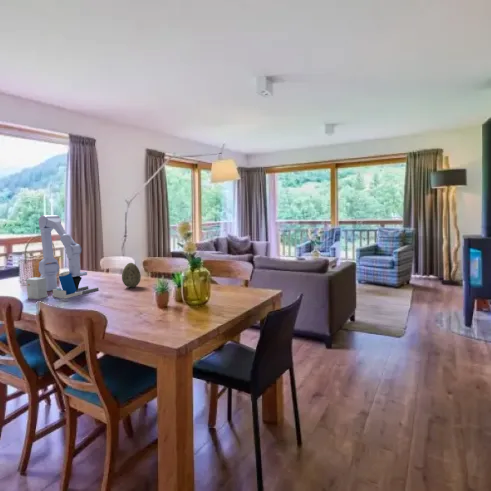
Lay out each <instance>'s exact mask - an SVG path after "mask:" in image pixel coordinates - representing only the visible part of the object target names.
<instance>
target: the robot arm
mask: <svg viewBox="0 0 491 491" xmlns="http://www.w3.org/2000/svg"><path fill="white" fill-rule="evenodd" d="M38 227H39V230H40V238H41V248H42V256H43V258H42V259H41V260H40V261H39V262H38V273H39V274H40V276H39V278H46V287H47V292H50V291H51V292H52V291H53V289H61V287H59V286H58V277H57V275H59V271H60V264H59V261H58V259H56V258H55V257H54V248H53V238H52V231H53V230H55V232H56V233H57V235H59V237H60V239H59V240H60V242H61V243H62V245H63V247H64V248H65V253H66V257H67V259H68V270H69V271H68V272H70V273H71V274H72V277H73V281H74V284H75V287H76V290H78V288H79V286H80V282H81V281H82V277H83V276H88V272H87V271H82V272H81V260H80V259H81V258H80V256H81V255H80V254H82V251H83V250H82V249H83V248H82V246H81V245H80V244H79V243H77V242H76V241H75V240H74V239H73V237H72V236H71V234H68V233H67V232H66V230H65V229H64V226H63V225H62V219H61V217H60V215H58V214H48V215H47V214H42V215H40V216H39V218H38Z"/></svg>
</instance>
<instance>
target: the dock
mask: <svg viewBox="0 0 491 491" xmlns="http://www.w3.org/2000/svg"><path fill="white" fill-rule="evenodd" d="M96 291H99V287H94V288H91V289H90V288H89V285H87V286H83V287H82V286H81V287H78V290H77V291H76V292H75V293H72V294H68V295H66V291H64V290H63V289H62V288H60V289H53V290H52V297H53V298H58V299H65V300H66V299H69V298H72V297H78V296H81V295H85V294H89V293H93V292H96Z"/></svg>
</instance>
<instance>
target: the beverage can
mask: <svg viewBox="0 0 491 491" xmlns="http://www.w3.org/2000/svg"><path fill="white" fill-rule="evenodd" d="M73 277H74V276H73ZM73 277H72V274H71V273H70V272H69V271H63V272H60V273H58V280H59V283H60V286H61V289H62V290H64V291H66V295H68V294H72V293H77V292H78V291H77V290H76V287H75V284H74V281H73ZM76 291H77V292H76Z"/></svg>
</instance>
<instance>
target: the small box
mask: <svg viewBox="0 0 491 491" xmlns="http://www.w3.org/2000/svg"><path fill="white" fill-rule="evenodd" d="M25 280H26V281H25V282H26V293H27V299H34V300H41V299H44V298H47V297H48V291H47V287H46V278H40V277H38V276H37V277H36V276H35V277H30V278H26V279H25Z"/></svg>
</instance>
